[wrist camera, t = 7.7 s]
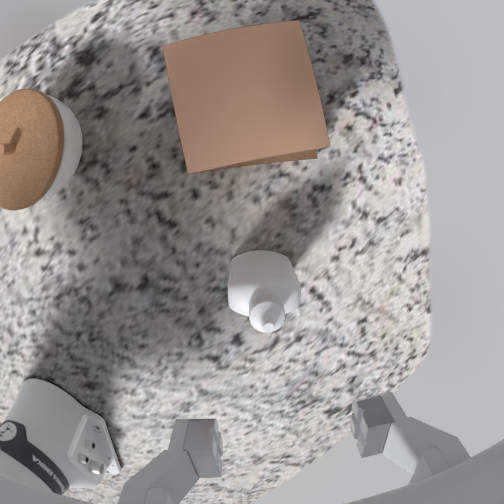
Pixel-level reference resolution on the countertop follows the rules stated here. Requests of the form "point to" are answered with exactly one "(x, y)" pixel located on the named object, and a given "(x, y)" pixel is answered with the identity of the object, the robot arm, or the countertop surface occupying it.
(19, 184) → the lidded jar
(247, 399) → the countertop surface
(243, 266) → the eye dropper bottle
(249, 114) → the terracotta top block
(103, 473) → the robot arm
